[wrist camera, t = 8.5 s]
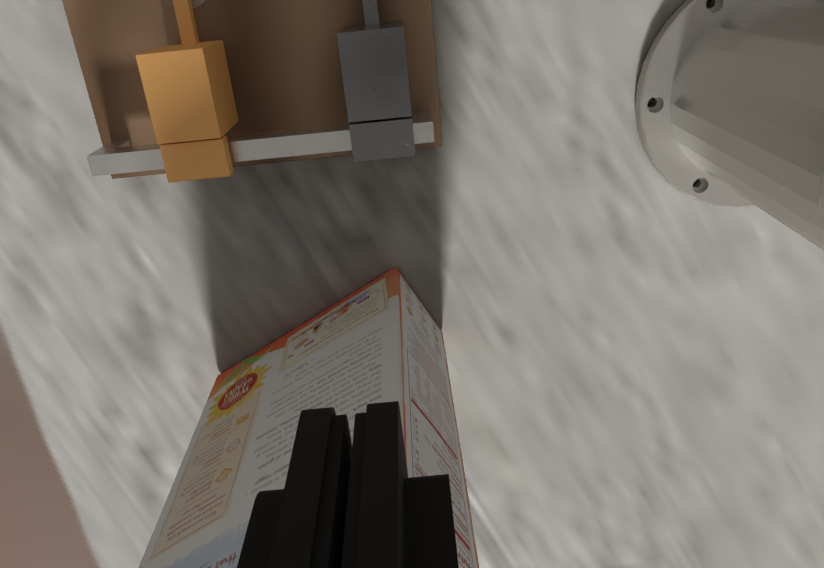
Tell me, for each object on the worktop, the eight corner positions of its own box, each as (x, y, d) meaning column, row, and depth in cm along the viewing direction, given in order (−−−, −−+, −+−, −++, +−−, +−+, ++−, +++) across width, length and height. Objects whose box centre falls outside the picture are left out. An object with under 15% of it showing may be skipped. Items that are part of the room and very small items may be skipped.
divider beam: (415, -61, 33) (418, -65, 30) (432, 135, 37) (436, 153, 34) (66, -24, 34) (25, -23, 30) (118, 167, 38) (88, 188, 34)
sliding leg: (207, -39, 33) (183, -40, 29) (246, 156, 37) (229, 177, 33) (145, -33, 33) (113, -33, 30) (190, 161, 37) (167, 183, 33)
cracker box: (272, 436, 47) (188, 755, 28) (215, 372, 45) (81, 670, 26) (449, 336, 44) (491, 615, 25) (397, 262, 42) (399, 506, 23)
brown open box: (421, -105, 34) (422, -109, 33) (440, 139, 39) (442, 146, 37) (57, -66, 34) (41, -68, 33) (122, 171, 39) (111, 179, 38)
